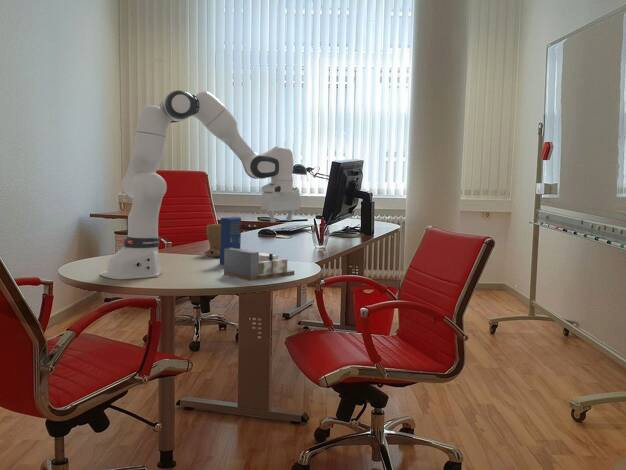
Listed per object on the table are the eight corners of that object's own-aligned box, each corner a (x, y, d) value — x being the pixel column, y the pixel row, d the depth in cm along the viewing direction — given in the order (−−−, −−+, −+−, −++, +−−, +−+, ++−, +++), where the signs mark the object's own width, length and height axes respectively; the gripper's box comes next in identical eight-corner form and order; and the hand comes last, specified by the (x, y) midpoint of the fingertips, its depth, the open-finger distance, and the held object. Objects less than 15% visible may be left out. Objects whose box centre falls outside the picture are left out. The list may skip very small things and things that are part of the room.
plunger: (271, 272, 251) (272, 256, 250) (251, 268, 259) (251, 253, 258) (282, 271, 256) (283, 255, 255) (261, 267, 263) (262, 252, 263)
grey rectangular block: (250, 277, 242) (251, 253, 241) (223, 271, 252) (224, 248, 251) (258, 275, 245) (258, 252, 244) (231, 270, 255) (232, 247, 254)
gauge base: (250, 280, 242) (250, 263, 241) (223, 275, 252) (224, 258, 251) (294, 274, 260) (294, 258, 259) (268, 269, 270) (268, 253, 269)
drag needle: (271, 260, 250) (271, 254, 249) (269, 259, 251) (269, 253, 250) (272, 260, 250) (272, 254, 250) (270, 259, 251) (270, 253, 251)
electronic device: (228, 265, 276) (229, 218, 273) (218, 264, 278) (219, 217, 276) (241, 263, 284) (242, 217, 282) (231, 261, 286) (232, 216, 284)
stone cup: (213, 252, 313) (213, 221, 311) (235, 254, 309) (236, 223, 307) (197, 256, 298) (198, 223, 297) (220, 258, 294) (221, 225, 293)
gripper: (293, 186, 272) (292, 219, 273) (258, 187, 256) (257, 222, 258) (304, 187, 268) (303, 220, 269) (270, 188, 252) (269, 223, 254)
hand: (281, 221), depth 263 cm, fingers open, 8 cm apart
